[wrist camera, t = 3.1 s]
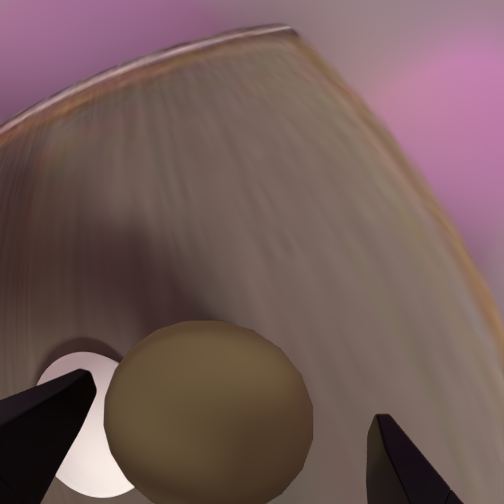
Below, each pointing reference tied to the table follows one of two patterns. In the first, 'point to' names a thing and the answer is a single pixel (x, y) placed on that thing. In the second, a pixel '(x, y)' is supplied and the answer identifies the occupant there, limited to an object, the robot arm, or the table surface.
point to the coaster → (90, 433)
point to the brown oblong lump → (208, 416)
